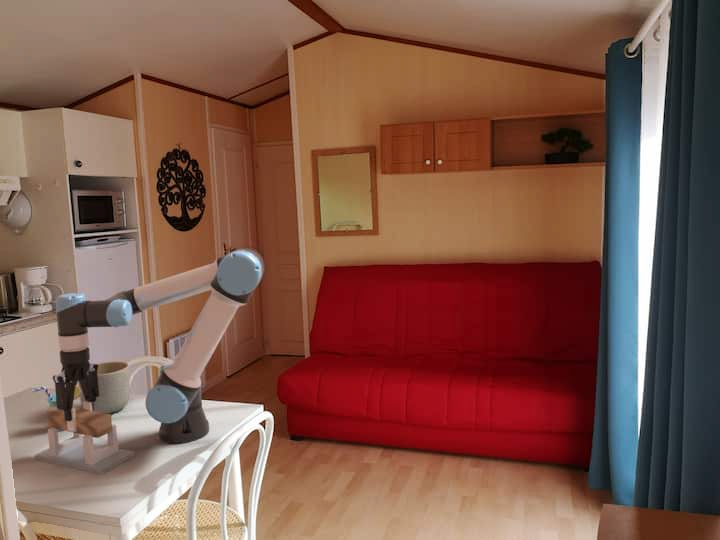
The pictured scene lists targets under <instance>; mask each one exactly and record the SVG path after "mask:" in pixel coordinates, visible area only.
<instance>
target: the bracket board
mask: <svg viewBox="0 0 720 540" xmlns="http://www.w3.org/2000/svg"><path fill="white" fill-rule="evenodd" d="M117 431H118V430H117V425H116V424H113V423H112V432H110V433H108V434H106V435H107V443H106V444H104V445H102V444H98V443H94V439H93V438H94V437H93V436H91V435H82V434H78V433H74V432H72V434H73V436H72V437H70V438H67V439H65V440H62V441H61V442H59V435H58V434H59V433H58V432H59V431H57V429H55V428H52V427H49V428H48V429H47V437H48V445H49V446H48V447H49V448H47V449H46V450H43V451H40V452H38V453H37V454H34V458H35V459H34V460H37V461H43V462H46V463H51V464H55V465H60V466H63V467H68V468H73V469H77V470H81V471H86V472H91V473H93V474H94V473H95V474H98V475H102V474H104V473H106V472H107V471H109V470H111V469H113V468H115V467H116V466H118V465H120V464H123V463H124V462H126V461H127V460H129V459H131V458H132V457H134V456H135V451H133V450H127V449H121V448H119V442H118V434H117Z"/></svg>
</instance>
